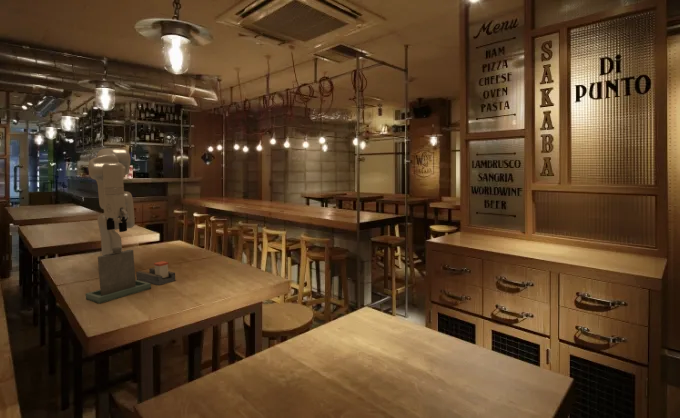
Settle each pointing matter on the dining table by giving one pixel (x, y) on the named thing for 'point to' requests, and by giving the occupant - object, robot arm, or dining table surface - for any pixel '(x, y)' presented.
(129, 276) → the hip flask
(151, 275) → the switch panel
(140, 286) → the tray
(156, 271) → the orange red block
